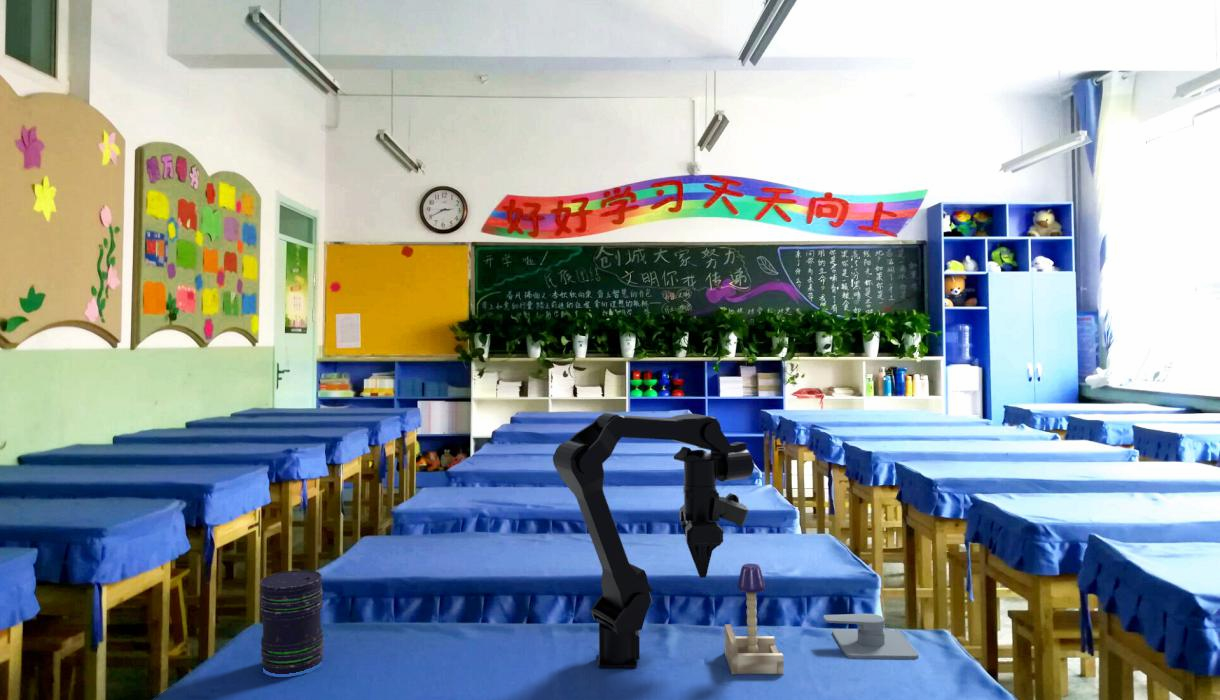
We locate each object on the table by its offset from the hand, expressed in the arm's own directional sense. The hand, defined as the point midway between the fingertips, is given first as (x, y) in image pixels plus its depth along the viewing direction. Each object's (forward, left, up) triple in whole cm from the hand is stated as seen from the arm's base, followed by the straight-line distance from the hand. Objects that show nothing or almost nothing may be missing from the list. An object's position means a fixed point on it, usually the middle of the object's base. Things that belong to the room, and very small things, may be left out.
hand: (700, 569), depth 151 cm
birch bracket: (+8, -10, -13) cm, 18 cm away
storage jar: (-70, -11, -13) cm, 72 cm away
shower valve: (+29, -2, -14) cm, 33 cm away
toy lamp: (+8, -10, -13) cm, 18 cm away
